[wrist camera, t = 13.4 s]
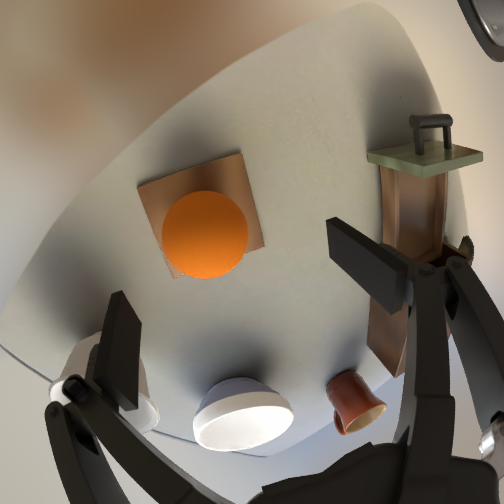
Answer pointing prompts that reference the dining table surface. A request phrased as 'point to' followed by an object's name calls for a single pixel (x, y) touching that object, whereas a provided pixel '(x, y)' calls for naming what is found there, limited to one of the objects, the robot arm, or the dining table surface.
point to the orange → (205, 234)
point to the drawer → (419, 187)
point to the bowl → (240, 415)
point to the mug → (353, 402)
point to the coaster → (202, 179)
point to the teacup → (139, 418)
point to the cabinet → (399, 323)
